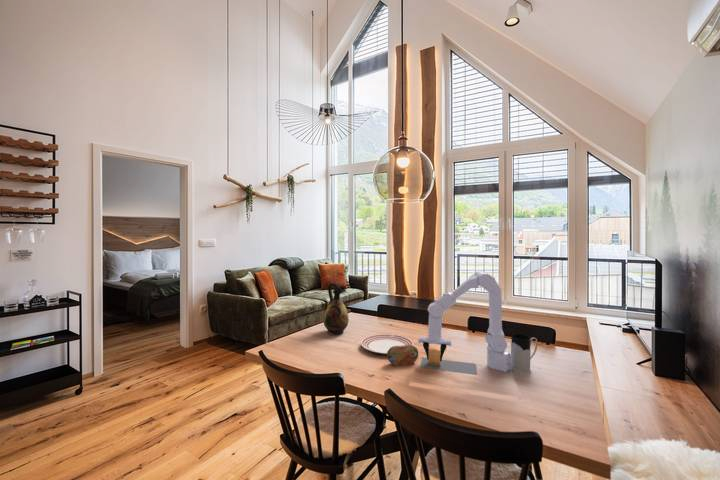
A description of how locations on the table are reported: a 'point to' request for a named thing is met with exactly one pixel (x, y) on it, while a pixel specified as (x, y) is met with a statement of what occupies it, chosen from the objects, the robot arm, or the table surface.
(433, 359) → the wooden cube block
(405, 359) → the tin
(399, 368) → the table surface
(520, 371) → the grey mug
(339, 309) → the ceramic jug
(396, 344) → the dinner plate
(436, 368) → the mat
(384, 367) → the table surface
